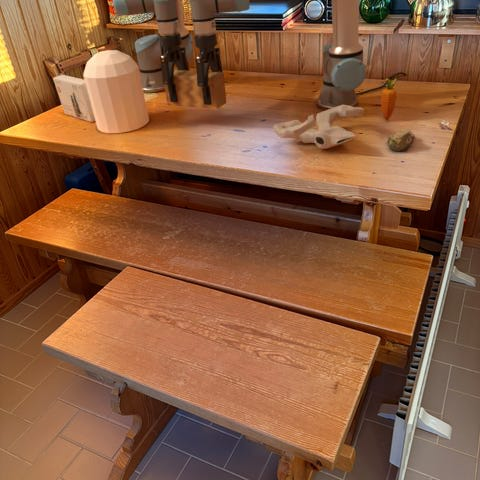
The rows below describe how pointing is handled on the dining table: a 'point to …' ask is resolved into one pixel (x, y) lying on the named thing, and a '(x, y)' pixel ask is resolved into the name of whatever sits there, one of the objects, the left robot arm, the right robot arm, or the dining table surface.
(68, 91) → the skincare box
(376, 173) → the dining table surface
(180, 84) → the box
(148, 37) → the left robot arm
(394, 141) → the rock
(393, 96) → the carrot
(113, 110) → the container
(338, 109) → the animal horns
